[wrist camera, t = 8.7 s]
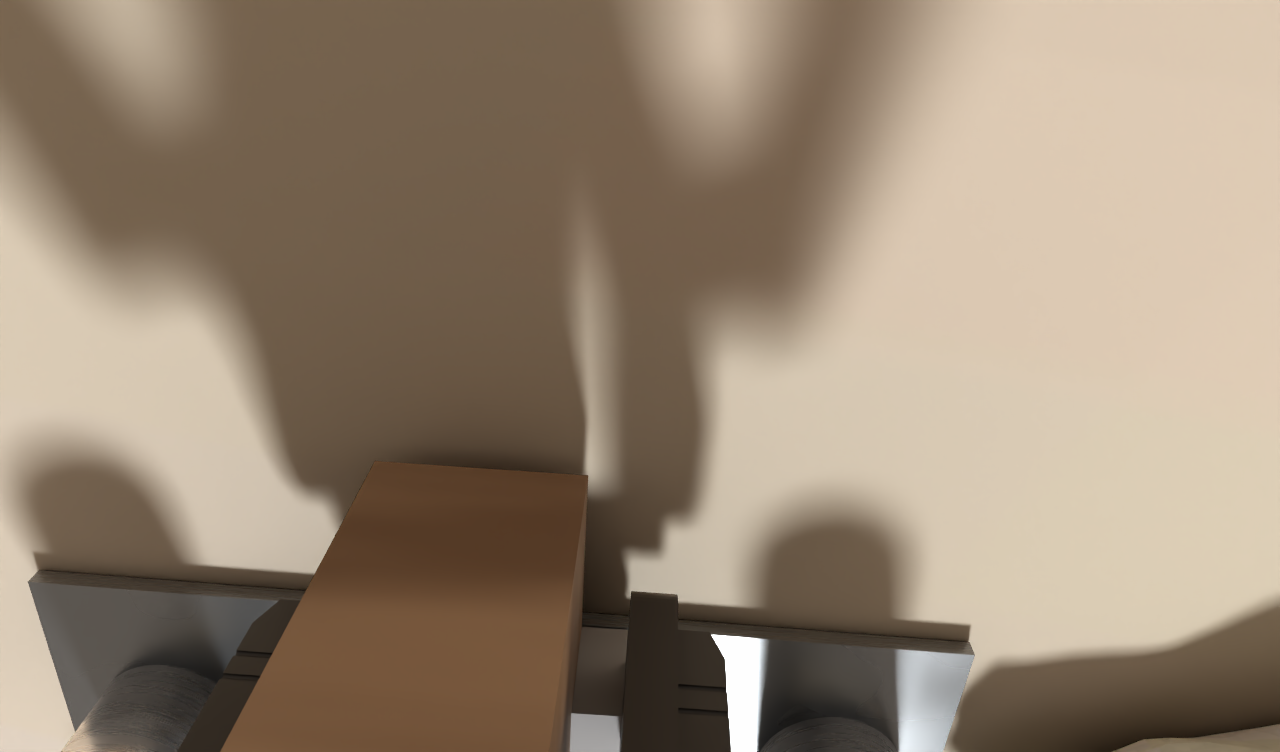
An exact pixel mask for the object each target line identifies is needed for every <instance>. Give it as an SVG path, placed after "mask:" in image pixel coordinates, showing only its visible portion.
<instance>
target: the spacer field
mask: <svg viewBox="0 0 1280 752" xmlns="http://www.w3.org/2000/svg"><path fill="white" fill-rule="evenodd" d="M28 583H29V587H30V590H31V593H32V596H33V599H34V602H35V606H36V609H37V612H38V615H39V618H40V621H41V625H42V628H43V631H44V634H45V637H46V640H47V644H48V647H49V650H50V653H51V656H52V659H53V663H54V666H55V669H56V672H57V675H58V678H59V682H60V685H61V688H62V691H63V694H64V697H65V701H66V704H67V707H68V710H69V713H70V716H71V720H72V723H73V726H74V729H75V733H74V735H73V736H72V737H71V739H70V740H69V741H68V743H67V744H66V746H65V747H64V748H63V750H62V751H61V752H177V750H178V749H179V747H180V745H181V744H182V742H183V740H184V739H185V737H186V735H187V733H188V732H189V730H190V728H191V727H192V725H193V723H194V722H195V720H196V718H197V716H198V715H199V713H200V711H201V710H202V708H203V706H204V705H205V703H206V701H207V699H208V698H209V696H210V694H211V693H212V691H213V689H214V687H215V686H216V684H217V682H218V681H219V679H222V677H223V672H224V670H225V669H226V667H227V665H228V664H229V662H230V660H231V659H232V657H233V656H235V655H236V650H237V648H238V647H239V645H240V643H241V641H242V640H243V638H244V636H245V635H246V633H247V631H248V630H249V628H250V626H251V624H252V623H253V622H254V621H255V620H256V619H257V618H259V617H260V616H261V615H262V614H263V613H265V612H266V611H267V610H268V609H269V608H271V607H272V606H273V605H274V604H276V603H277V602H278V601H279V600H280V599H284V600H297V601H301V599H302V597H303V595H304V593H305V592H306V591H301V590H288V589H275V588H263V587H250V586H237V585H224V584H211V583H198V582H185V581H172V580H159V579H147V578H134V577H121V576H108V575H95V574H82V573H69V572H56V571H43V570H39V571H38V572H37V573H36V574H35V575H34V576H33V577H32V578H31V579H30V580H29V581H28ZM628 625H629V616H623V615H610V614H598V613H585V612H582V627H593V628H607V629H622V630H628ZM678 630H691V631H705V632H710V633H711V635H712V637H713V638H714V640H715V642H716V643H717V645H718V647H719V649H720V650H721V652H722V654H723V656H724V657H725V663H726V678H727V693H728V708H729V714H728V717H729V723H730V738H731V752H943V750H944V747H945V744H946V741H947V738H948V735H949V732H950V729H951V726H952V723H953V720H954V717H955V714H956V711H957V708H958V705H959V702H960V699H961V696H962V693H963V689H964V686H965V683H966V680H967V677H968V674H969V671H970V668H971V665H972V662H973V659H974V656H975V655H974V652H973V650H972V647H971V645H970V642H958V641H946V640H933V639H920V638H907V637H894V636H881V635H868V634H855V633H842V632H830V631H817V630H804V629H791V628H778V627H765V626H752V625H739V624H726V623H714V622H701V621H688V620H678Z"/></svg>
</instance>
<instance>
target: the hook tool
mask: <svg viewBox="0 0 1280 752" xmlns="http://www.w3.org/2000/svg"><path fill="white" fill-rule="evenodd" d="M587 492H588V475H573V474H559V473H544V472H529V471H514V470H500V469H485V468H470V467H456V466H441V465H426V464H411V463H397V462H382V461H375V462H374V464H373V466H372V468H371V469H370V471H369V473H368V475H367V477H366V479H365V481H364V483H363V484H362V486H361V488H360V490H359V492H358V494H357V496H356V498H355V499H354V501H353V503H352V505H351V507H350V509H349V511H348V513H347V515H346V516H345V518H344V520H343V522H342V524H341V526H340V528H339V530H338V531H337V533H336V535H335V537H334V539H333V541H332V543H331V545H330V546H329V548H328V550H327V552H326V554H325V556H324V558H323V560H322V561H321V563H320V565H319V567H318V569H317V571H316V573H315V575H314V576H313V578H312V580H311V582H310V584H309V586H308V588H307V590H306V592H305V593H304V595H303V597H302V599H301V601H300V603H299V605H298V607H297V608H296V610H295V612H294V614H293V616H292V618H291V620H290V622H289V623H288V625H287V627H286V629H285V631H284V633H283V635H282V637H281V638H280V640H279V642H278V644H277V646H276V648H275V650H274V652H273V654H272V655H271V657H270V659H269V661H268V663H267V665H266V667H265V669H264V670H263V672H262V674H261V676H260V678H259V680H258V682H257V684H256V685H255V687H254V689H253V691H252V693H251V695H250V697H249V699H248V700H247V702H246V704H245V706H244V708H243V710H242V712H241V714H240V715H239V717H238V719H237V721H236V723H235V725H234V727H233V729H232V731H231V732H230V734H229V736H228V738H227V740H226V742H225V744H224V746H223V747H222V749H221V751H220V752H619V749H620V735H621V722H622V709H623V693H624V678H625V663H626V650H627V637H628V630H622V629H607V628H593V627H582V609H583V586H584V562H585V539H586V515H587Z"/></svg>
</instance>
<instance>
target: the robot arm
mask: <svg viewBox="0 0 1280 752" xmlns="http://www.w3.org/2000/svg"><path fill="white" fill-rule="evenodd" d="M299 603H300V601H297V600H284V599H280V600H279V601H278V602H277V603H276V604H274V605H273V606H272V607H271V608H269V609H268V610H267V611H266V612H265V613H263V614H262V615H261V616H260V617H259V618H257V619H256V620H255V621H254V622H253V623H252V624H251V626H250V628H249V630H248V631H247V633H246V635H245V636H244V638H243V640H242V641H241V643H240V645H239V647H238V648H237V650H236V655H235V656H233V657H232V659H231V660H230V662H229V664H228V665H227V667H226V669H225V670H224V672H223V677H222V679H219V681H218V682H217V684H216V686H215V687H214V689H213V691H212V693H211V694H210V696H209V698H208V699H207V701H206V703H205V705H204V706H203V708H202V710H201V711H200V713H199V715H198V716H197V718H196V720H195V722H194V723H193V725H192V727H191V728H190V730H189V732H188V733H187V735H186V737H185V739H184V740H183V742H182V744H181V745H180V747H179V749H178V750H177V752H220V751H221V749H222V747H223V746H224V744H225V742H226V740H227V738H228V736H229V734H230V732H231V731H232V729H233V727H234V725H235V723H236V721H237V719H238V717H239V715H240V714H241V712H242V710H243V708H244V706H245V704H246V702H247V700H248V699H249V697H250V695H251V693H252V691H253V689H254V687H255V685H256V684H257V682H258V680H259V678H260V676H261V674H262V672H263V670H264V669H265V667H266V665H267V663H268V661H269V659H270V657H271V655H272V654H273V652H274V650H275V648H276V646H277V644H278V642H279V640H280V638H281V637H282V635H283V633H284V631H285V629H286V627H287V625H288V623H289V622H290V620H291V618H292V616H293V614H294V612H295V610H296V608H297V607H298V605H299ZM728 714H729V708H728V693H727V678H726V663H725V657H724V656H723V654H722V652H721V650H720V649H719V647H718V645H717V643H716V642H715V640H714V638H713V637H712V635H711V633H710V632H705V631H691V630H678V596H677V595H675V594H661V593H648V592H635V591H631V600H630V612H629V625H628V637H627V650H626V663H625V678H624V693H623V709H622V722H621V735H620V749H619V752H731V738H730V723H729V717H728Z"/></svg>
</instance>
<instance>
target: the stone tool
mask: <svg viewBox="0 0 1280 752" xmlns="http://www.w3.org/2000/svg"><path fill="white" fill-rule="evenodd" d="M1112 752H1280V724H1278V725H1271V726H1265V727H1259V728H1252V729H1246V730H1240V731H1234V732H1227V733H1221V734H1215V735H1208V736H1202V737H1195V738H1159V739H1143V740H1141V741H1138V742H1135V743H1133V744H1130V745H1128V746H1125V747H1123V748H1120V749H1117V750H1115V751H1112Z"/></svg>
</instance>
